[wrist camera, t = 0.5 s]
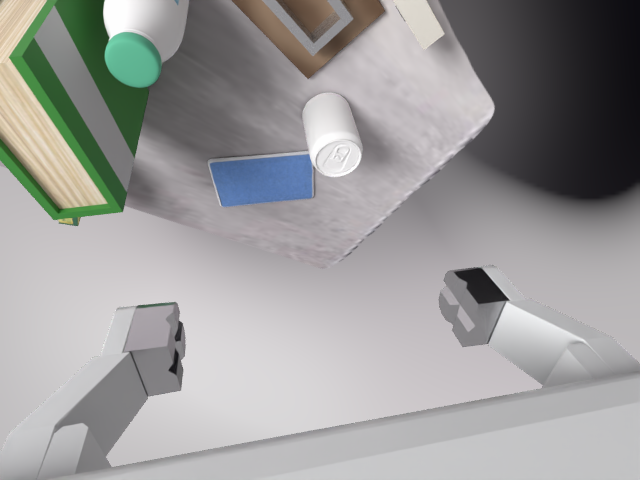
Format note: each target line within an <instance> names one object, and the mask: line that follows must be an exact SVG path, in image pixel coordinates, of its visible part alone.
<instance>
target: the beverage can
mask: <svg viewBox="0 0 640 480" xmlns="http://www.w3.org/2000/svg"><path fill="white" fill-rule="evenodd" d="M302 119H303V124H304V129H305V134H306V139H307V144H308V149H309V154H310V159H311V162H312V164H313V165H314V167H315V168H316V169H317V170H318V171H319V172H320V173H321V174H323V175H325V176H329V177H340V176H344V175H346V174H349V173H350V172H352V171H353V170H354V169H355V168H356V167H357V166H358V165H359V163H360V161H361V156H362V152H363V146H362V142H361V139H360V136H359V133H358V130H357V127H356V124H355V121H354V118H353V115H352V112H351V109H350V106H349V104H348V102H347V100H346V99H345V98H344V97H342V96H341V95H339V94H336V93H330V92H328V93H321V94H318V95H316V96H314V97H313V98H312V99H310V100H309V101H308V102H307V104H306V105H305V107H304V109H303V113H302Z"/></svg>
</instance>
